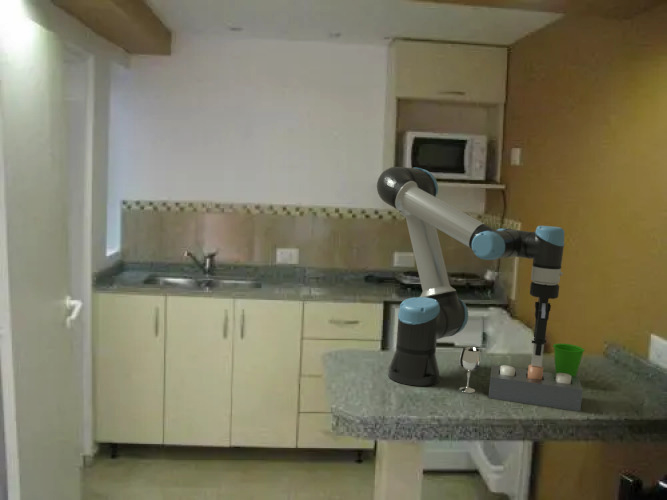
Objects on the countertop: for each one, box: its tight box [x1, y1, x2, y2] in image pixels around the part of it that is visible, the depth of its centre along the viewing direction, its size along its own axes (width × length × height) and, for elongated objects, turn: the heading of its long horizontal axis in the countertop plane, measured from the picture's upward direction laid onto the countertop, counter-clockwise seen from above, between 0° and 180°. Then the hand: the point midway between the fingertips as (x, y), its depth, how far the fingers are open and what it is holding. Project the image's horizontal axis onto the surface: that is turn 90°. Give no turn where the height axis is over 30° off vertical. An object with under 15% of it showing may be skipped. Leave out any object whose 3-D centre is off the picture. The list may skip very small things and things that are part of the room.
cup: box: [552, 343, 585, 377], centre depth 197 cm, size 9×9×11 cm
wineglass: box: [459, 346, 482, 394], centre depth 184 cm, size 6×6×12 cm
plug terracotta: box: [527, 363, 544, 380], centre depth 182 cm, size 4×4×7 cm
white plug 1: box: [500, 365, 516, 376], centre depth 184 cm, size 4×4×7 cm
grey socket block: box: [488, 364, 584, 412], centre depth 182 cm, size 24×12×6 cm, turn 75°
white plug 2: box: [555, 372, 571, 384], centre depth 180 cm, size 4×4×7 cm
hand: (536, 365), depth 181 cm, fingers closed
